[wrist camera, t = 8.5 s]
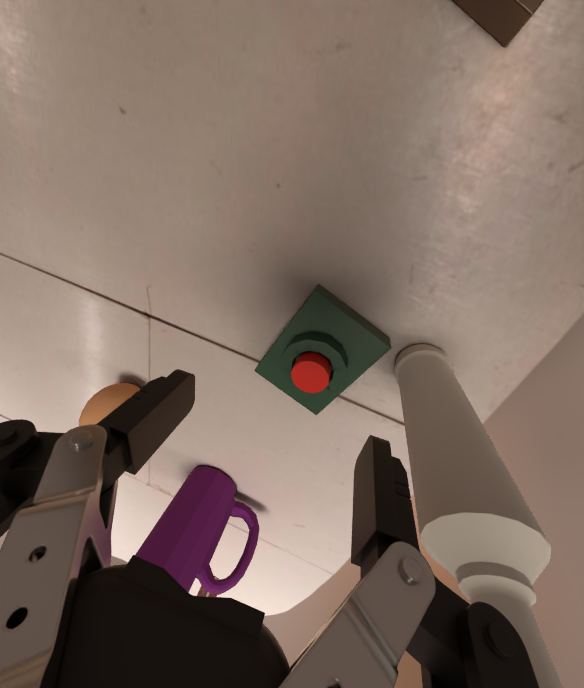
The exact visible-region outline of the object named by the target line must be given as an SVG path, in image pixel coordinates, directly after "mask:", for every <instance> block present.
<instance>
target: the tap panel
mask: <svg viewBox="0 0 584 688" xmlns="http://www.w3.org/2000/svg"><path fill="white" fill-rule="evenodd" d="M453 1H454V2H456V3H457V4H458V5H459V6H460V7H461V8H462V9H463V10H464V11H466V12H467V13H468V14H469V15H470V16H471V17H472V18H473V19H474V20H476V21H477V22H478V23H479V24H480V25H481V26H482V27H483V28H484V29H485V30H487V31H488V32H489V33H490V34H491V35H492V36H493V37H494V38H495V39H497V40H498V41H499V42H500V43H501V44H502V45H503V46H504V47H506V46H507V45H508V44H509V42H510V41H511V40H512V39H513V38H514V36H515V35H516V34H517V33H518V32H519V31H520V29H521V28H522V27H523V26H524V25H525V23H526V22H527V21H528V20H529V19H530V17H531V16H532V15H533V14H534V12H535V11H536V10H537V9H538V7H539V6H540V5H541V3H542V2H543V1H544V0H453Z"/></svg>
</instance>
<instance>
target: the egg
mask: <svg viewBox="0 0 584 688" xmlns="http://www.w3.org/2000/svg"><path fill="white" fill-rule="evenodd" d="M140 389H141V388H139V387H138V386H136V385H133V384H128V383H119V384H114V385H110V386H108V387H105V388H104V389H102V390H100V391H99V392H98V393H96V394H95V395H94V396H93V397H92V398H91V399H90V400H89V401H88V402H87V404H86V405H85V407H84V409H83V410H82V413H81V416H80V419H79V426H83V425H90V424H93V425H95V424H97V423H98V422H100V421H101V420H102V419H103V418H105V417H106V416H107V415H108V414H110V413H111V412H112V411H113V410H115V409H116V408H117V407H118V406H120V405H121V404H122V403H123V402H125V401H126V400H127V399H128V398H131V397H132V395H133V394H135V393H136V392H137V391H140Z"/></svg>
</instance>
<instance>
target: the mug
mask: <svg viewBox="0 0 584 688" xmlns="http://www.w3.org/2000/svg"><path fill="white" fill-rule="evenodd" d="M235 492H236V487H235V485H234V484H233V482H232V481H231V479H230V478H229V477H228V476H227V475H225V474H224V473H222V472H221V471H220V470H217V469H214V468H211V467H208V466H207V467H196V468H195V469H194V470H193V471H192V472H191V473H190V475H189V476H188V478H187V479H186V481H185V482H184V484H183V485H182V487H181V488H180V490H179V491H178V492H177V494H176V495H175V497H174V498H173V500H172V501H171V503H170V504H169V506H168V507H167V509H166V510H165V512H164V513H163V515H162V516H161V518H160V519H159V521H158V522H157V524H156V525H155V527H154V528H153V530H152V531H151V532H150V534H149V535H148V537H147V538H146V540H145V541H144V543H143V544H142V546H141V547H140V549H139V550H138V552H137V553H136V555H135V556H137V557H139V558H142V559H144V560H146V561H148V562H151V563H153V564H155V565H157V566H160V567H162V568H164V569H165V570H166V571H167V572H168V573H169V574H170V575H171V576H172V577H173V578H174V579H175V580H176V581H177V582H178V583H179V584H180V585H181V586H182V587H183V588H184V589H185V590H186V591H187V592H188V593H189V590H190V588H191V586H192V584H193V582H194V580H195V578H197V579H199V581H200V583H201V585H202V587H203V588H204V589H205V590H207V591H208V592H209V593H213V594H218V595H219V594H221V593H224V592H226V591H228V590H229V589H231V588H232V587H234V586H235V585H236V584H237V583H238V582H239V580H240V579H241V578H242V577H243V576H244V574H245V572H246V570H247V568H248V566H249V564H250V562H251V560H252V557H253V554H254V551H255V548H256V545H257V541H258V534H259V524H258V520H257V516H256V514H255V513H254V512H253V511H252V510H251V508H250V507H248V506H247V505H245V504H244V503H241V502H238V501H235V498H234V495H235ZM230 516H233V517H240V518H243V519H244V521H245V522H246V523H247V525H248V527H249V529H250V531H249V536H248V540H247V543H246V546H245V549H244V552H243V555H242V557H241V559H240V561H239V563H238V564H237V566H236V568H235V569H234V571H233V572H232V573H231V575H229V576H228V577H227V578H226V579H222V580H218V579H215V578H214V576H213V573H212V571H211V568H210V565H209V563H210V561H211V559H212V556H213V554H214V552H215V549H216V547H217V545H218V542H219V540H220V538H221V536H222V533H223V531H224V529H225V526H226V524H227V522H228V519H229V517H230Z"/></svg>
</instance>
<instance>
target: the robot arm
mask: <svg viewBox="0 0 584 688" xmlns="http://www.w3.org/2000/svg"><path fill="white" fill-rule="evenodd" d="M194 401H195V376H194V374H191V373H188V372H185V371H182V370H179V369H177V370H175V371H173V372H172V373H171V374H170V375H169V376H168V377H163V376H162V377H159V378H157V379H155V380H152V381H150V382H148V383H147V384H146V385H145V386H143V387H142V388H141V389H140V391H137V392H136V393H135V394H133V395H132V397H131V398H128V399H127V400H126V401H125V402H123V403H122V404H121V405H120V406H118V407H117V408H116V409H115V410H113V411H112V412H111V413H110V414H108V415H107V416H106V417H105V418H103V419H102V420H101V421H100V422H98V423H97V424H95V425H93V424H90V425H83V426H79V427H76V428H73V429H71V430H69V431H68V432H66V433H50V432H37V430H36V428H35V426H34V424H33V423H32V422H30V421H28V420H10V421H6V422H2V423H0V537H1V536H2V535H3V534H4V533H5V532H6V531H7V530H8V529H9V531H8V533H7V535H6V538H5V540H4V542H3V545H2V547H1V550H0V688H394V686H395V683H396V680H397V677H398V670H397V666H398V663H399V661H400V659H401V657H402V655H403V653H404V651H405V650H406V651H407V652H408V653H409V654H410V655H411V656H412V657H413V658H415V659H416V660H417V661H418V662H419V663H420V664H421V671H422V683H423V688H539V685H538V682H537V679H536V676H535V673H534V670H533V667H532V664H531V661H530V658H529V655H528V652H527V650H526V647H525V645H524V643H523V641H522V639H521V637H520V636H519V634H518V632H517V631H516V629H515V628H514V627H513V625H512V624H511V623H510V622H509V620H508V619H507V618H506V617H505V616H504V615H503V614H502V613H501V612H500V611H499V610H497V609H496V608H495V607H493V606H491V605H490V604H488V603H485V602H480V601H479V602H475V603H473V604H471V605H470V604H469V603H467V602H466V601H465V600H463V599H462V598H461V597H459V596H458V595H457V594H456V593H454V592H453V591H451V590H450V589H449V588H448V587H447V586H445V585H444V584H443V583H441V582H440V581H439V580H438V579H437V578H436V577H435V576H434V574H433V572H432V570H431V567H430V565H429V564H428V562H427V560H426V559H425V558H424V556H423V555H422V554H421V552H420V549H419V545H418V539H417V533H416V527H415V521H414V515H413V509H412V503H411V500H410V498H411V496H410V490H409V488H408V487H409V484H408V478H407V472H406V470H405V468H404V467H403V465H402V463H401V461H400V459H398V458H395V457H392V456H391V447H390V443H389V441H386V440H384V439H381V438H378V437H375V436H372V435H370V436H369V437H368V439H367V441H366V443H365V445H364V447H363V449H362V450H361V452H360V454H359V456H358V458H357V461H356V465H355V470H354V492H353V520H352V547H351V563H353V564H355V565H358V566H360V567H361V579H360V581H359V582H358V583H357V584H356V586H355V587H354V588H353V589H352V591H351V592H350V593H349V594H348V595H347V597H346V598H345V599H344V601H343V602H342V603H341V604H340V606H339V607H338V608H337V609H336V610H335V612H334V613H333V614H332V616H331V617H330V618H329V619H328V620H327V622H326V623H325V624H324V625H323V627H322V628H321V629H320V630H319V631H318V633H317V634H316V635H315V636H314V637H313V639H312V640H311V641H310V642H309V644H308V645H307V646H306V647H305V648H304V650H303V651H302V652H301V653H300V655H299V656H298V657H297V659H296V660H295V661H294V662H293V663H292V665H291V666H290V667H289V664H288V661H287V659H286V657H285V654H284V652H283V650H282V648H281V646H280V645H279V643H278V641H277V640H276V638H275V637H274V635H273V634H272V633H271V631H270V630H269V629H268V628H267V627H266V626H265V625H264V624H263V619H264V615H265V613H264V612H261V611H259V610H257V609H255V608H252V607H250V606H248V605H246V604H243V603H241V602H239V601H237V600H234V599H232V598H221V597H203V596H193V595H190V594H189V593H188V592H187V591H186V590H185V589H184V588H183V587H182V586H181V585H180V584H179V583H178V582H177V581H176V580H175V579H174V578H173V577H172V576H171V575H170V574H169V573H168V572H167V571H166V570H165V569H164V568H162V567H160V566H157V565H155V564H153V563H151V562H148V561H146V560H144V559H142V558H139V557H137V556H135V555H133V556H132V558H131V559H130V561H129V562H128V564H125V565H124V564H123V565H114V566H110V562H111V529H112V522H113V515H114V508H115V501H116V494H117V487H118V478H119V477H120V476H121V475H122V474H123V473H124V472H125V471H126V472H129V473H131V474H134V475H135V474H136V473H137V472H138V471H139V470H140V469H141V468H142V466H143V465H144V464H145V463H146V462H147V461H148V459H149V458H150V457H151V456H152V455H153V454H154V453H155V451H156V450H157V449H158V448H159V447H160V446H161V444H162V443H163V442H164V441H165V440H166V439H167V437H168V436H169V435H170V434H171V433H172V432H173V431H174V429H175V428H176V427H177V426H178V425H179V424H180V422H181V421H182V420H183V419H184V418H185V417H186V416H187V414H188V413H189V412H190V411H191V409H192V407H193V404H194Z"/></svg>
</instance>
